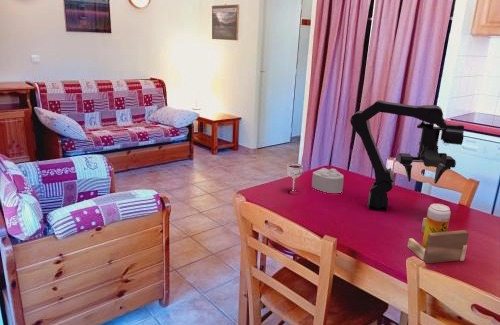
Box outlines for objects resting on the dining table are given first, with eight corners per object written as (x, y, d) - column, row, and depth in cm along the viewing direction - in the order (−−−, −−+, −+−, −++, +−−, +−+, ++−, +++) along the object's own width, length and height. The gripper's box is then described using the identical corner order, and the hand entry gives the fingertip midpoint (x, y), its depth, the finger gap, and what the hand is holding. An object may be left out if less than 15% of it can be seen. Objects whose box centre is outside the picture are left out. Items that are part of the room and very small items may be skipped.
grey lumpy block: (321, 182, 176) (323, 164, 173) (347, 190, 168) (349, 171, 165) (308, 188, 168) (310, 169, 166) (335, 196, 160) (337, 177, 158)
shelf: (391, 233, 130) (395, 209, 127) (424, 230, 132) (428, 207, 130) (427, 264, 112) (432, 236, 109) (464, 260, 115) (470, 233, 112)
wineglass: (282, 190, 165) (283, 164, 161) (295, 188, 168) (297, 162, 164) (290, 196, 159) (292, 168, 156) (304, 194, 162) (306, 167, 158)
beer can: (433, 258, 115) (441, 212, 111) (417, 248, 121) (424, 204, 116) (447, 254, 118) (455, 209, 113) (430, 244, 123) (438, 201, 119)
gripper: (407, 145, 130) (400, 188, 135) (465, 148, 128) (456, 192, 132) (399, 137, 141) (394, 177, 145) (453, 140, 138) (445, 181, 143)
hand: (422, 182), depth 141 cm, fingers open, 9 cm apart
